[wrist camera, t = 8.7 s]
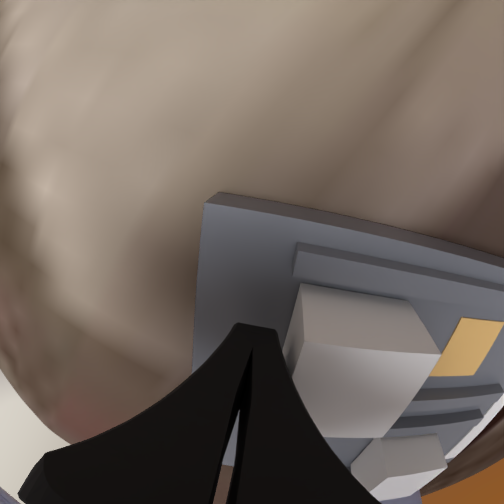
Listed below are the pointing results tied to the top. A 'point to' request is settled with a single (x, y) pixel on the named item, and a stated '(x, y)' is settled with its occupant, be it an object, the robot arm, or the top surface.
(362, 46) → the top surface
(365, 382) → the tab
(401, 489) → the tab
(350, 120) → the top surface
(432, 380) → the switch board
